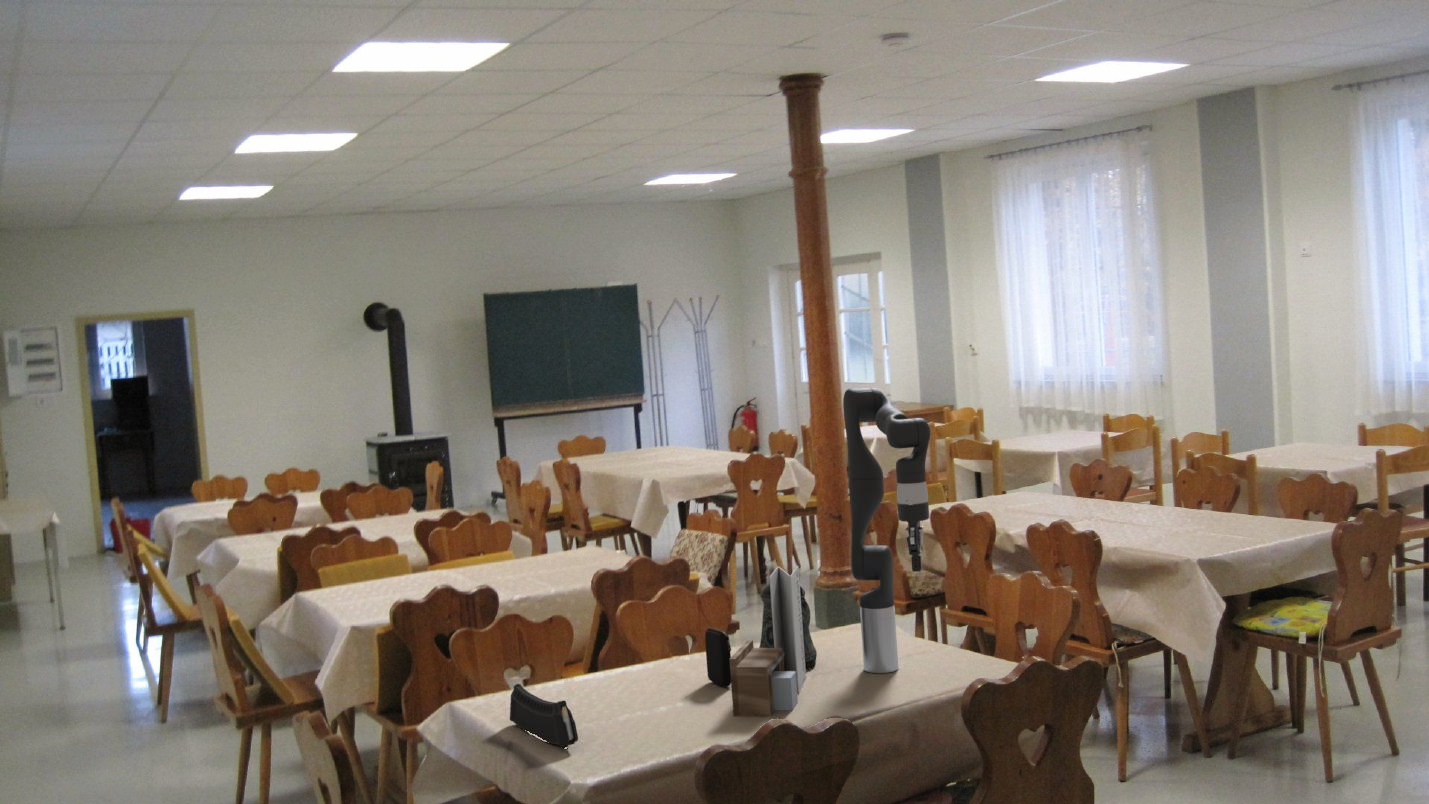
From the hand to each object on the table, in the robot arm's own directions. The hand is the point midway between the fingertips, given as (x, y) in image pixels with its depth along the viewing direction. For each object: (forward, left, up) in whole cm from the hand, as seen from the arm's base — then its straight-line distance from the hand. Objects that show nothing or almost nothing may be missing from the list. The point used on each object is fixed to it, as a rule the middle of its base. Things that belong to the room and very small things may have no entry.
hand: (917, 570), depth 300 cm
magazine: (+36, -86, -31) cm, 98 cm away
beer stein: (-27, -39, -31) cm, 57 cm away
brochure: (-8, -35, -31) cm, 48 cm away
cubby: (+9, -39, -31) cm, 51 cm away
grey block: (+10, -36, -31) cm, 49 cm away
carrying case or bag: (-8, -54, -31) cm, 63 cm away
